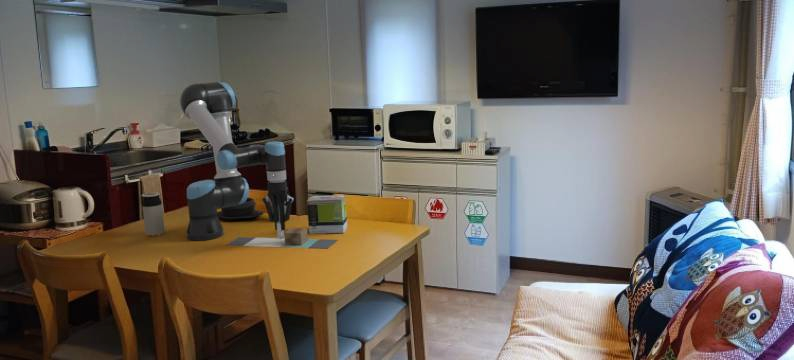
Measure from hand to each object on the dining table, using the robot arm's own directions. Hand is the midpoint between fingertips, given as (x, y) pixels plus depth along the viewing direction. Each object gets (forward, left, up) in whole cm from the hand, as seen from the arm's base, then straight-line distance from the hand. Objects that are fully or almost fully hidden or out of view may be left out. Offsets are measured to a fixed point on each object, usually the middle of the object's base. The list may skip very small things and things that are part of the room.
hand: (280, 237), depth 267 cm
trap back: (-18, 0, -2) cm, 18 cm away
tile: (-6, 0, -2) cm, 6 cm away
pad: (+8, 0, -2) cm, 9 cm away
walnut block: (+7, 0, -2) cm, 7 cm away
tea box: (+13, +20, -2) cm, 24 cm away
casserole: (-39, +40, -2) cm, 56 cm away
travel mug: (-63, +8, -2) cm, 63 cm away
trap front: (+18, 0, -2) cm, 18 cm away
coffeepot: (-16, +37, -2) cm, 40 cm away
